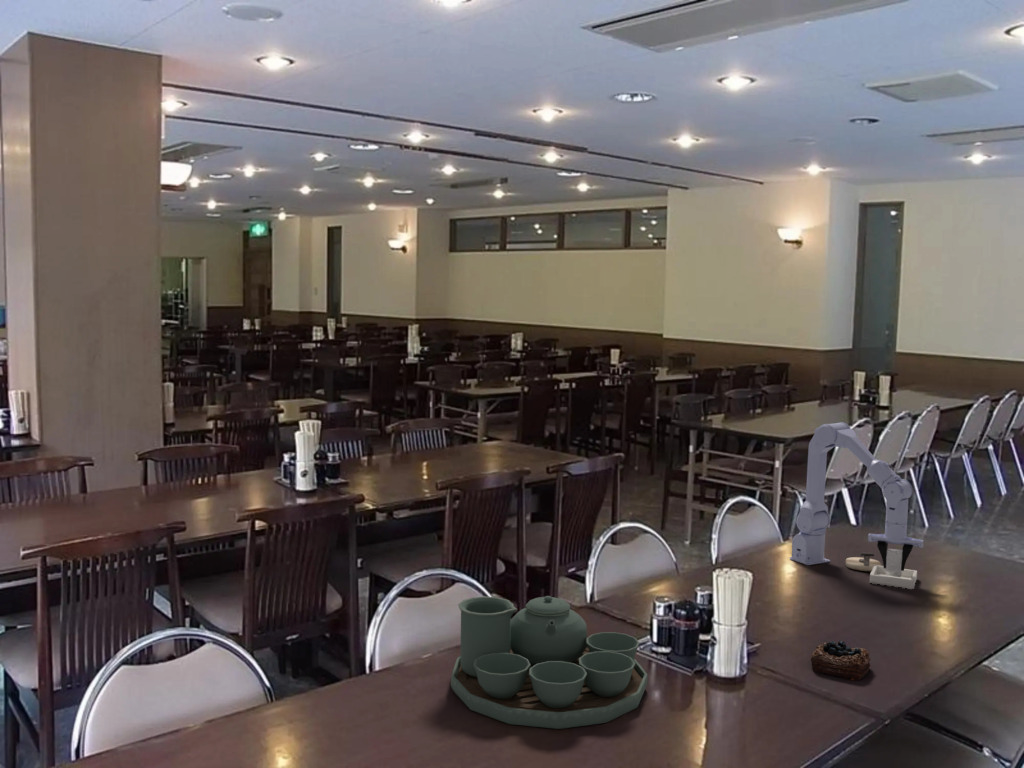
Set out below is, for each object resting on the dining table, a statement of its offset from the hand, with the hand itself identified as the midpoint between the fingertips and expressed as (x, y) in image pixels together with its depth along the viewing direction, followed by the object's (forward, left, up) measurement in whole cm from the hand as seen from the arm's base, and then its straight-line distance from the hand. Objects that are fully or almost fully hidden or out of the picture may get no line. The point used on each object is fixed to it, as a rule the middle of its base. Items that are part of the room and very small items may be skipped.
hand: (893, 568), depth 264 cm
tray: (0, 0, -4) cm, 4 cm away
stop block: (0, 0, -2) cm, 2 cm away
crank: (+3, +14, -4) cm, 15 cm away
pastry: (-64, -40, -4) cm, 76 cm away
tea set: (-126, -20, -4) cm, 127 cm away
